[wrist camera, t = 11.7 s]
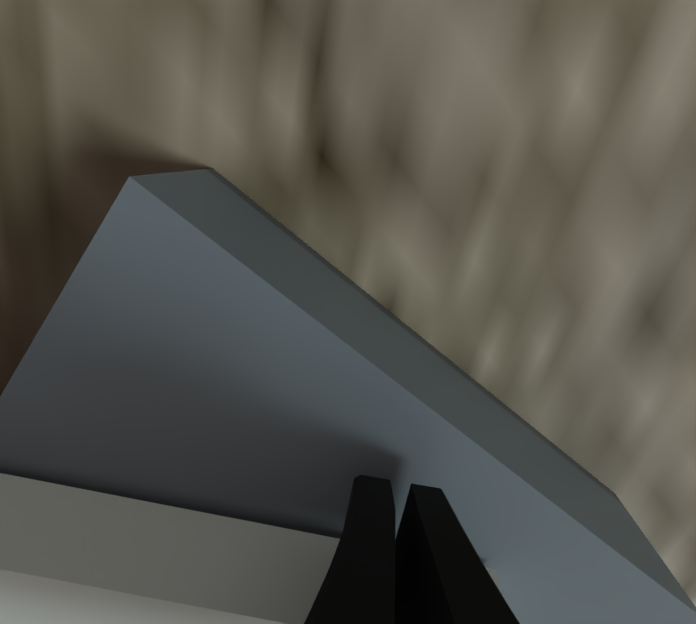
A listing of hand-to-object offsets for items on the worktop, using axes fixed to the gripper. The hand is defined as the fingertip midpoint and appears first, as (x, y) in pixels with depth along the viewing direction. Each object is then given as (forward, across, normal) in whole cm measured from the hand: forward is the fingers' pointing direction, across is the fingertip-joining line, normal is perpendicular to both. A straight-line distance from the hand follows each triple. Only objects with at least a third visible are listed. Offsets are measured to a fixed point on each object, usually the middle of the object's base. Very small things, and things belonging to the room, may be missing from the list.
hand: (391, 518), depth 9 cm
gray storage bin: (+5, +4, +7) cm, 9 cm away
